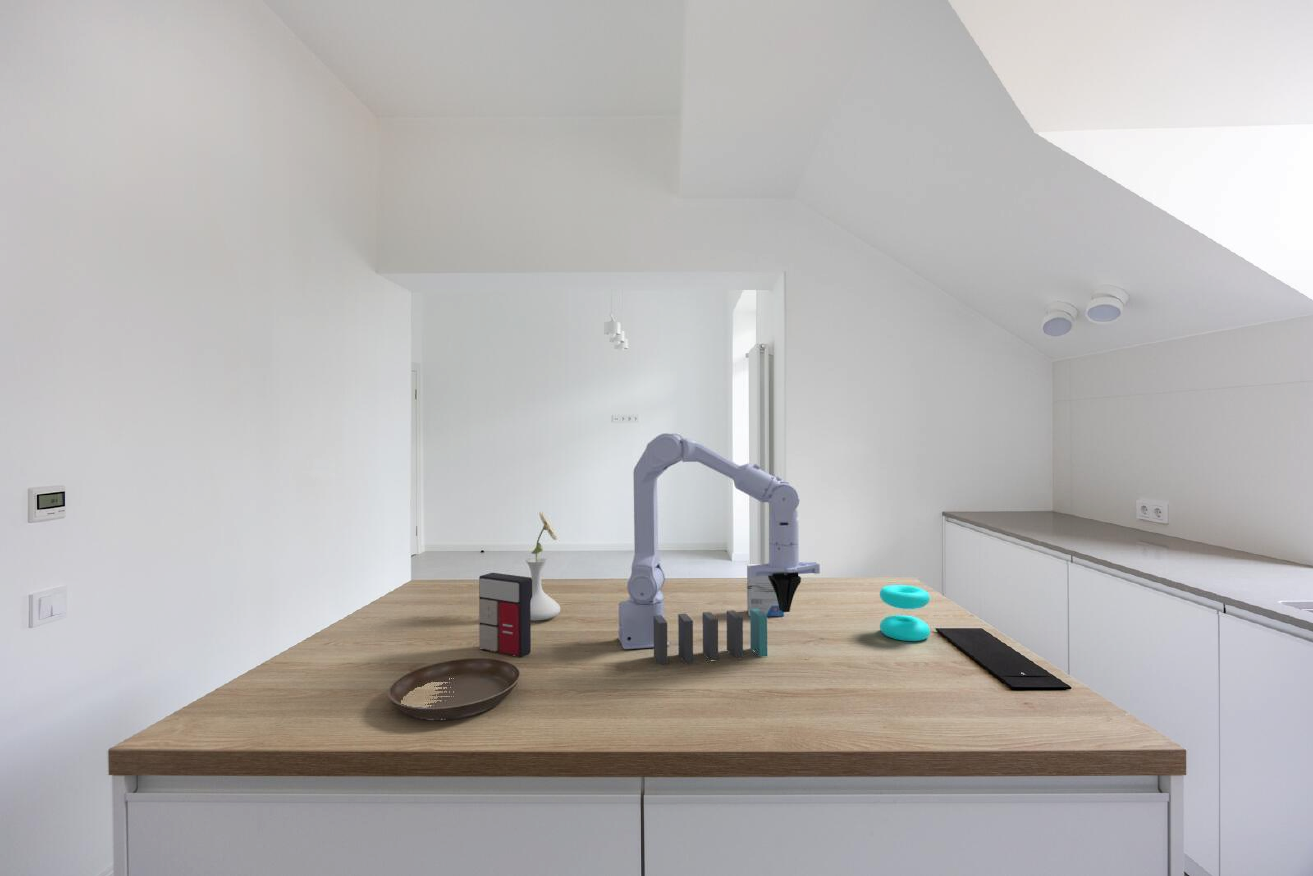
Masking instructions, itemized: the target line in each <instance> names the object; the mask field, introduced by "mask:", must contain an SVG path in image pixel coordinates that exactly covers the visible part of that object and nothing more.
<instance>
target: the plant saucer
mask: <svg viewBox="0 0 1313 876" xmlns="http://www.w3.org/2000/svg"><path fill="white" fill-rule="evenodd" d="M520 677H521V671H520V668H519V667H518V666H516V664H513V663H511V662H509V661H506V660H502V659H496V658H485V657H483V658H482V657H480V658H479V657H478V658H477V657H473V658H472V657H471V658H460V659H453V660H452V659H451V660H446V661H441V662H436V663H433V664H429V665H426V666H424V667H421V668H418V669H415V670H412V671H411V672H408V673H407V674H404V675H402V676H400V678H398V679H396V680H395V681H394V682H393V683H392V684H391V685H390V686H389V689H388V692H387V696H388V697H389V698H388V699H390V701H391V702H392V705H394V706H395V707H396V708H397V709H399V711H401V712H403V713H404V714H406V715H408V716H409V715H410V716H409V717H412V716H413V717H412V718H414V717H416V718H415V719H418V718H420V719H419V720H423V719H433V720H432V721H434V720H440V721H445V720H444V719H453V720H456V719H455V718H459V719H462V718H461V717H464V718H467V717H466V716H469V717H471V716H470V715H472V716H474V715H473V714H475V715H479V714H481V713H483V711H484V712H487V711H488V710H490V709H492V708H494V707H496V706H497V705H499V704H500V703H502V701H504V700H505V699H506V698H507V697H508V696H510V693H512V691H513V690H514V689H515V687H516V686H517V684H518V682H519V680H520ZM449 678H450V680H449ZM451 678H452V679H451ZM453 678H454V679H453ZM431 682H448V683H446V684H445V683H443V684H442V685H439V686H436V687H442V689H438V690H435V691H443V693H439V694H437V696H450V697H442V698H441V697H438V698H437V699H434V698H433V699H434V700H442V701H441V702H440V701H437V702H436V703H435V702H434V703H430V704H429V703H428V704H427V705H432V706H431V707H430V706H429V707H427V708H422V707H412V706H407V705H404V704H401V700H403V697H404V696H406V695H407V694H408V693H409V692H410V691H413V690H414V689H415V688H417V687H422V686H424V685H425V684H427V683H431ZM449 682H450V683H449ZM434 687H435V686H434ZM443 687H447V689H446V688H445V689H443ZM450 687H451V688H450ZM444 691H447V693H446V692H445V693H444ZM449 691H450V693H449ZM453 691H454V693H453ZM430 696H431V695H430ZM432 696H436V694H435V695H432ZM451 696H452V697H451ZM453 696H454V697H453ZM433 699H432V700H433ZM430 700H431V699H430ZM445 700H446V701H445ZM425 705H426V704H425ZM433 705H434V706H433ZM480 712H481V713H480ZM478 713H479V714H478ZM441 719H443V720H441Z"/></svg>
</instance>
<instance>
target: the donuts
mask: <svg viewBox="0 0 1313 876" xmlns="http://www.w3.org/2000/svg"><path fill="white" fill-rule="evenodd" d="M879 597H880V600H882V601H881V602H883V603H884V604H885V605H888V606H890V607H894V608H897V609H900V610H901V609H903V610H916V609H921V608H924V607H926V606H927V605H928V604H929V602H930V598H931V597H930V594H929V593H928V592H927V591H926V590H925V589H923V588H920V587H918V586H913V585H906V584H890V585H885V586H883V587H882V588H881V589H880V590H879ZM879 629H880V632H881V633H882V634H884V635H885V636H886V637H888V638H890V639H893V640H898V641H906V642H919V641H924V640H926V639H928V637H929V636H930V634H931V629H930V627H929V625H928V624H927V623H926V622H925V621H924V620H922V619H920V618H918V617H915V616H911V615H903V614H894V615H889V616H887V617H884V618H883V619H882V620H881V621H880V624H879Z"/></svg>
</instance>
